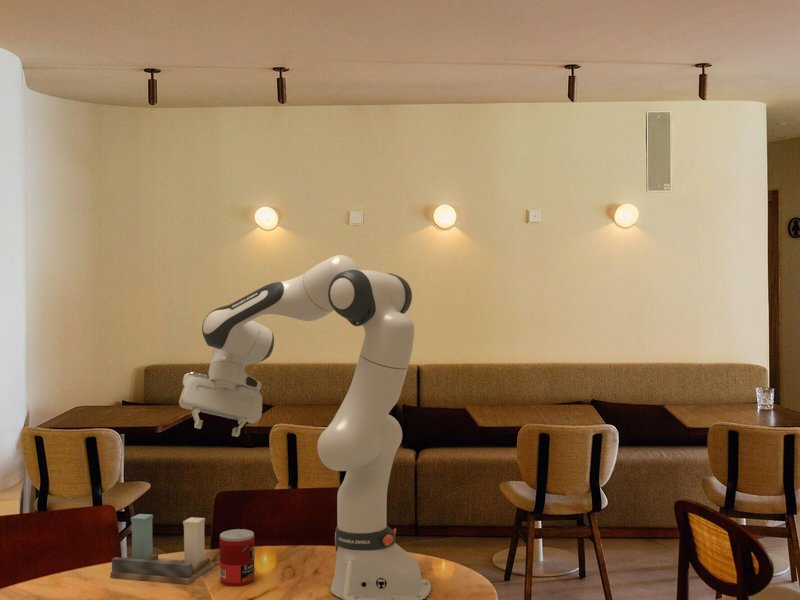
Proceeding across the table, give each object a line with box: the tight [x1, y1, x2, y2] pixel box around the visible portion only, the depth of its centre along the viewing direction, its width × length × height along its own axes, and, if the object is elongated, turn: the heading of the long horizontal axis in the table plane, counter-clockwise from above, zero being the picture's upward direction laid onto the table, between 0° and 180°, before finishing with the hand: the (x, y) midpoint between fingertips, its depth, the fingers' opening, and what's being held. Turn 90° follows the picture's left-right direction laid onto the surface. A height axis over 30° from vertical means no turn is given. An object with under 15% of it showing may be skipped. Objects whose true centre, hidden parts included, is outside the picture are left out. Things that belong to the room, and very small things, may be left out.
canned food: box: [219, 528, 255, 587], centre depth 197 cm, size 8×8×11 cm
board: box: [110, 553, 213, 585], centre depth 203 cm, size 20×12×4 cm, turn 76°
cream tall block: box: [182, 516, 206, 567], centre depth 204 cm, size 4×4×11 cm
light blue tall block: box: [130, 513, 154, 560], centre depth 208 cm, size 4×4×11 cm
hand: (216, 431), depth 207 cm, fingers open, 8 cm apart
